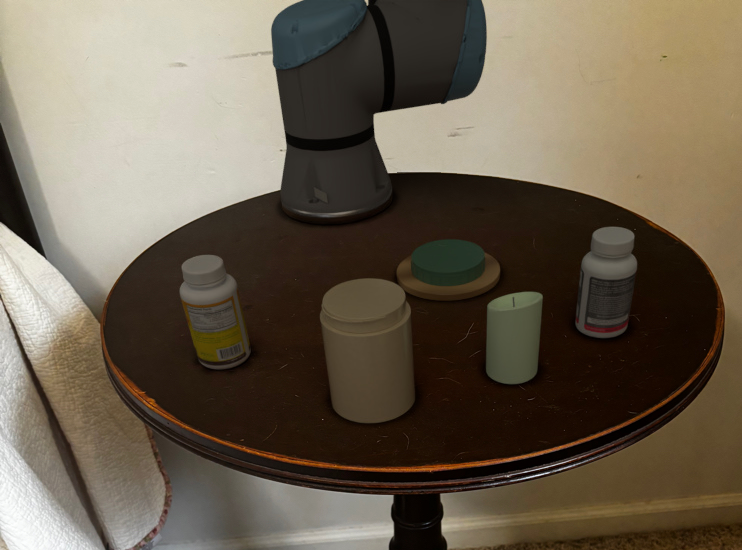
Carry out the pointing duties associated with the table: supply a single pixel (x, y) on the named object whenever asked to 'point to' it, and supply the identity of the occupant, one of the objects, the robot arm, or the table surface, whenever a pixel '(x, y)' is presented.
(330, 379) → the jar
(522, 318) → the candle
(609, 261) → the pill bottle
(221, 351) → the supplement bottle
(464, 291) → the coaster
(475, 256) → the lid
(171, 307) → the table surface
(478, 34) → the robot arm
